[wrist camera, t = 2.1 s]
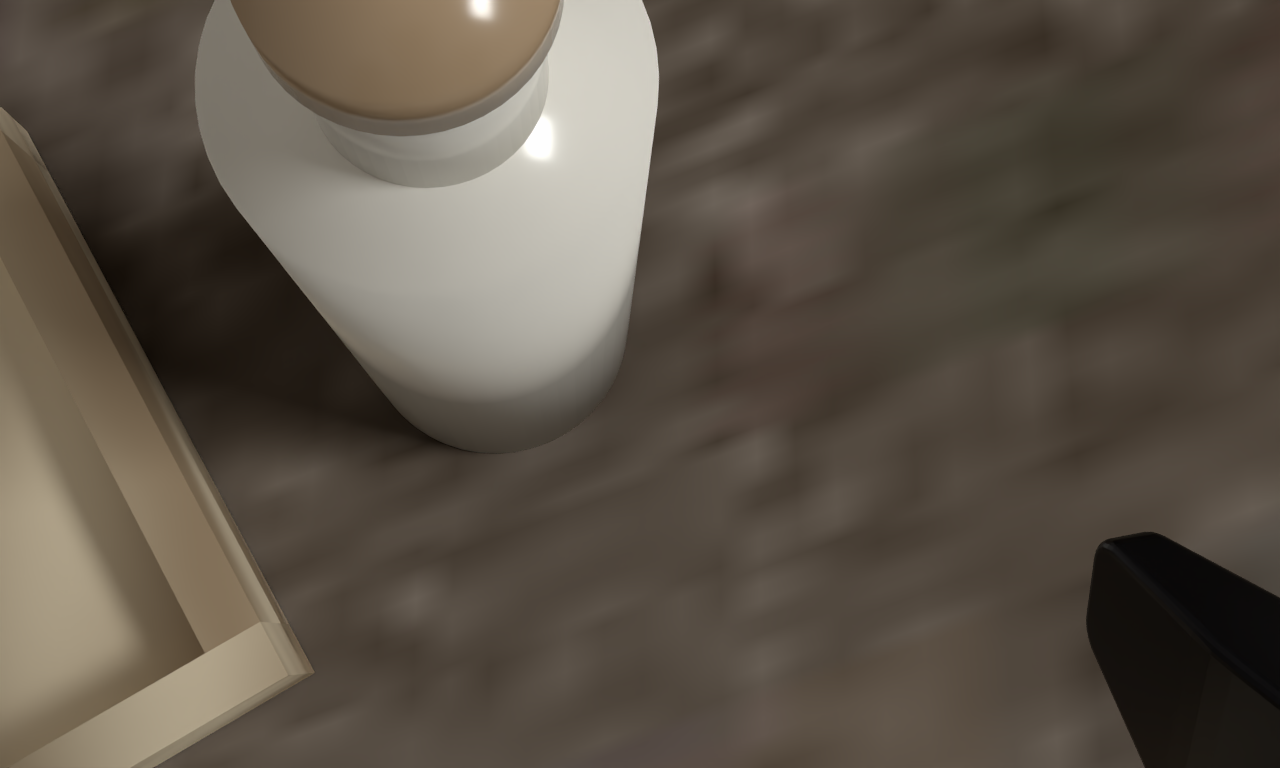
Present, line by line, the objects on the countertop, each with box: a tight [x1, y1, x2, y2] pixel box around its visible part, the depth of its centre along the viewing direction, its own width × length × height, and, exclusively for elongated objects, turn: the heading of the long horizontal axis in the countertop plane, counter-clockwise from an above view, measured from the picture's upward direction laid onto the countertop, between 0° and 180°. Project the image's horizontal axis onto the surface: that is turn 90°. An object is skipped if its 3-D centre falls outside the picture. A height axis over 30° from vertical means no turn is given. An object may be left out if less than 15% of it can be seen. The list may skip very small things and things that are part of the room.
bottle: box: [195, 0, 659, 454], centre depth 17 cm, size 5×5×13 cm
